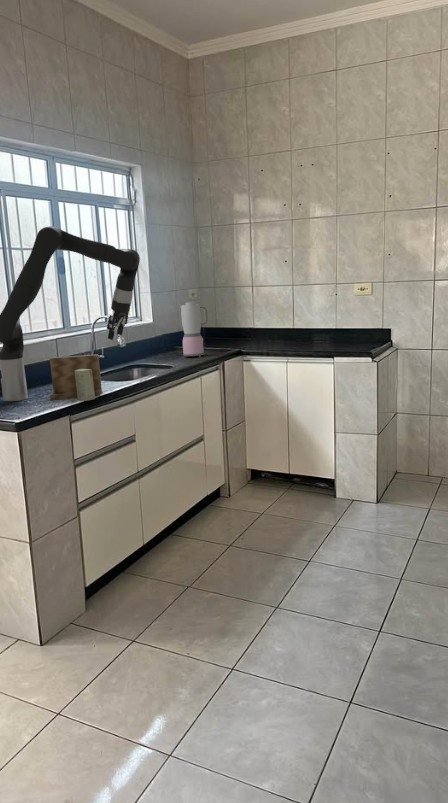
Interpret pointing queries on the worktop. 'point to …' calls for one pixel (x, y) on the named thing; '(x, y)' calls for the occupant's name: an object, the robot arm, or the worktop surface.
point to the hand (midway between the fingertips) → (114, 336)
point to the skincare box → (84, 384)
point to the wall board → (72, 375)
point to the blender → (192, 329)
